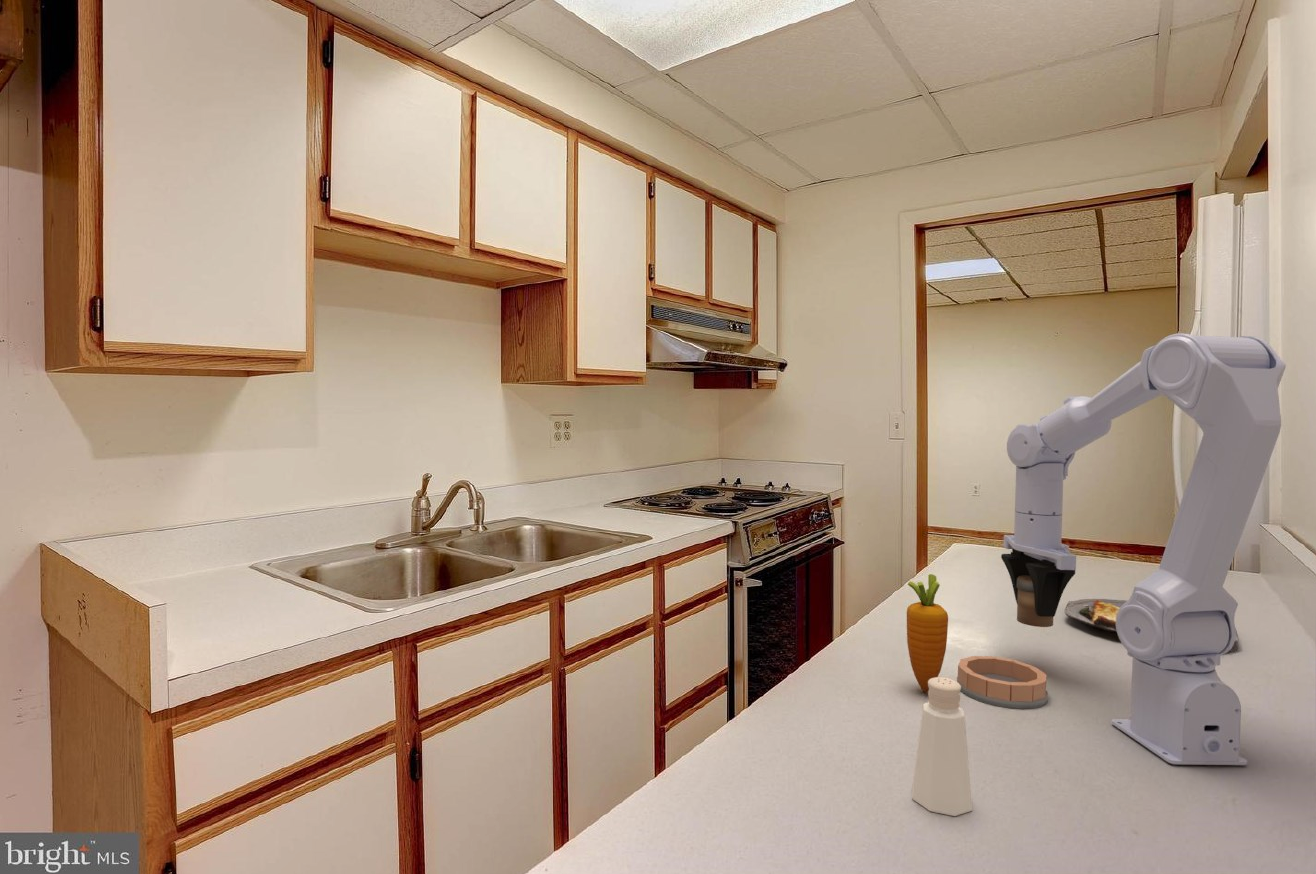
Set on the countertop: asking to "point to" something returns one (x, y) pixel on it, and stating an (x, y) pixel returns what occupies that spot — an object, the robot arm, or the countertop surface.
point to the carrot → (926, 633)
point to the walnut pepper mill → (1029, 604)
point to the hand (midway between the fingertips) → (1035, 610)
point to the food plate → (1098, 612)
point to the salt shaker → (942, 752)
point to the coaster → (1002, 682)
